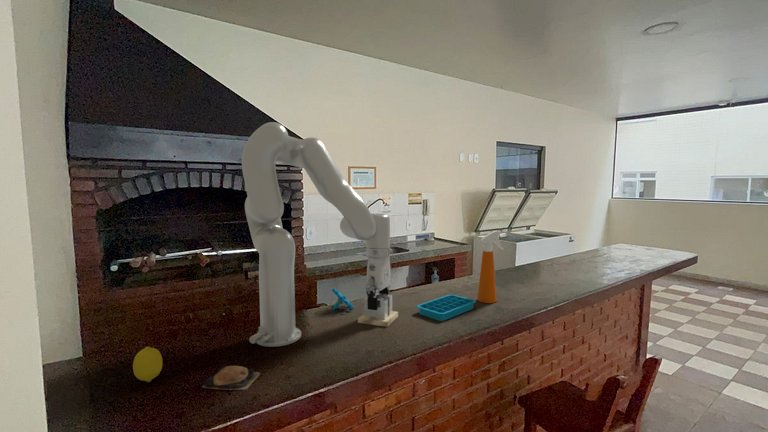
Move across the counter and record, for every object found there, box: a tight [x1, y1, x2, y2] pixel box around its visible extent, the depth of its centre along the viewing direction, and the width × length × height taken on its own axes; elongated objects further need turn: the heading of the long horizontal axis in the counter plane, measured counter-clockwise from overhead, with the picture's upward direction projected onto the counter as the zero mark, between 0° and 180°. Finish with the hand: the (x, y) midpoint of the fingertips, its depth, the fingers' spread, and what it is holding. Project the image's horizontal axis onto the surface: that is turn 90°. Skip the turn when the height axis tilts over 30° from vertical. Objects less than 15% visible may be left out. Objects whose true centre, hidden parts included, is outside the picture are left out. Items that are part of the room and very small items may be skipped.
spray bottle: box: [477, 230, 505, 304], centre depth 140 cm, size 7×11×26 cm, turn 112°
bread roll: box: [201, 365, 261, 391], centre depth 83 cm, size 11×8×4 cm
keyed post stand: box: [357, 297, 399, 328], centre depth 121 cm, size 10×10×7 cm
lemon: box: [132, 346, 163, 383], centre depth 82 cm, size 6×6×8 cm
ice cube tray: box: [415, 294, 477, 322], centre depth 129 cm, size 12×20×3 cm, turn 133°
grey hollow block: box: [363, 292, 393, 320], centre depth 121 cm, size 7×7×6 cm
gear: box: [331, 287, 355, 311], centre depth 131 cm, size 11×6×10 cm
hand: (378, 304), depth 121 cm, fingers open, 9 cm apart
